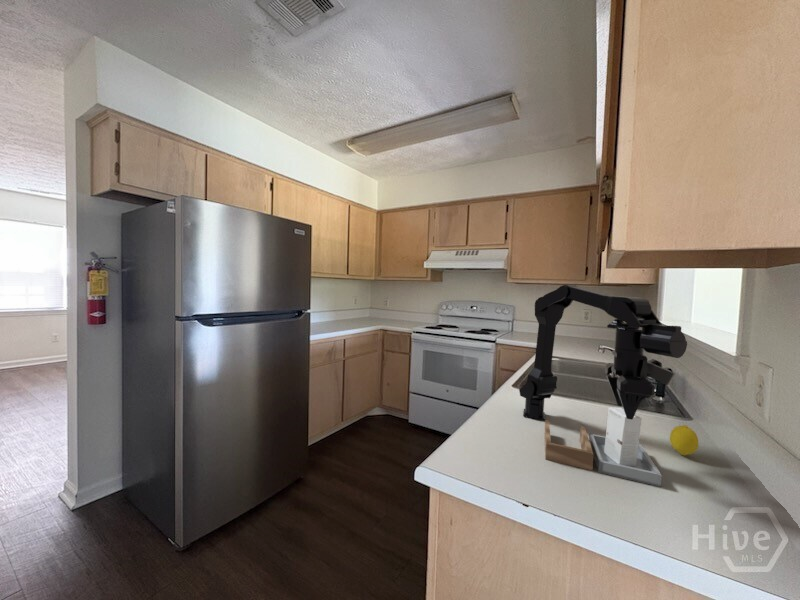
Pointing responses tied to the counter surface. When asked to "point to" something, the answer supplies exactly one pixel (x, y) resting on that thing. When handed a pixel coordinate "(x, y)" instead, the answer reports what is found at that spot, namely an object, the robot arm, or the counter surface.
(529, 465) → the counter surface
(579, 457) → the bay
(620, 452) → the skincare box
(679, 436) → the lemon
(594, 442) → the tray
